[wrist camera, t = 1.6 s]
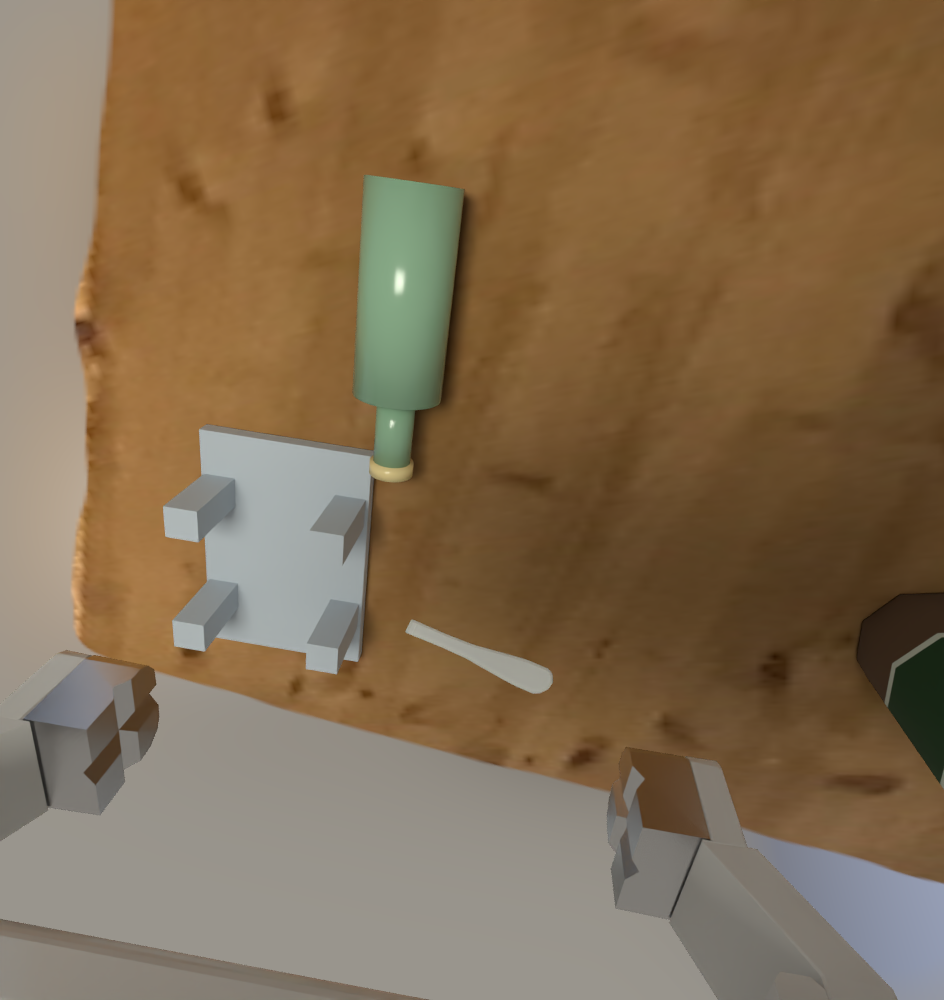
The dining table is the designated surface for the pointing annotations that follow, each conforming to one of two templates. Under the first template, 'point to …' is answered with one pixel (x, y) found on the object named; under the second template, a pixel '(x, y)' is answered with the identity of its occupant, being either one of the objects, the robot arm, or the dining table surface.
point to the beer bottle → (910, 669)
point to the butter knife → (489, 659)
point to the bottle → (403, 309)
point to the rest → (277, 544)
